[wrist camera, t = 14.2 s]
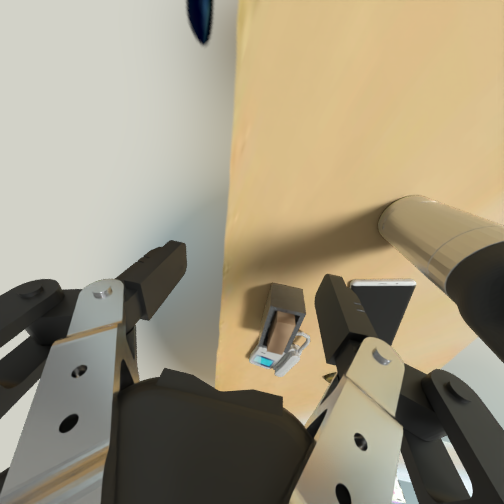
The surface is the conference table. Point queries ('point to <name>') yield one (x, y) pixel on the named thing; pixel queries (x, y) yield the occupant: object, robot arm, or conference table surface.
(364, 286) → the smartphone
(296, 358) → the intercom
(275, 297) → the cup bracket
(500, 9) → the conference table surface
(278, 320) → the brown rectangular block
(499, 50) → the conference table surface
